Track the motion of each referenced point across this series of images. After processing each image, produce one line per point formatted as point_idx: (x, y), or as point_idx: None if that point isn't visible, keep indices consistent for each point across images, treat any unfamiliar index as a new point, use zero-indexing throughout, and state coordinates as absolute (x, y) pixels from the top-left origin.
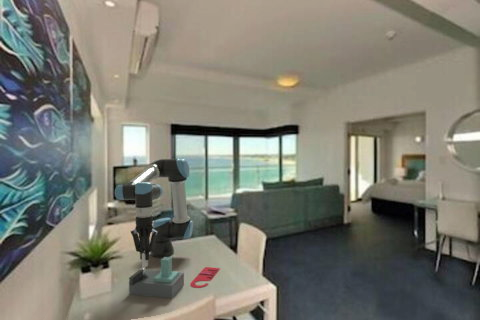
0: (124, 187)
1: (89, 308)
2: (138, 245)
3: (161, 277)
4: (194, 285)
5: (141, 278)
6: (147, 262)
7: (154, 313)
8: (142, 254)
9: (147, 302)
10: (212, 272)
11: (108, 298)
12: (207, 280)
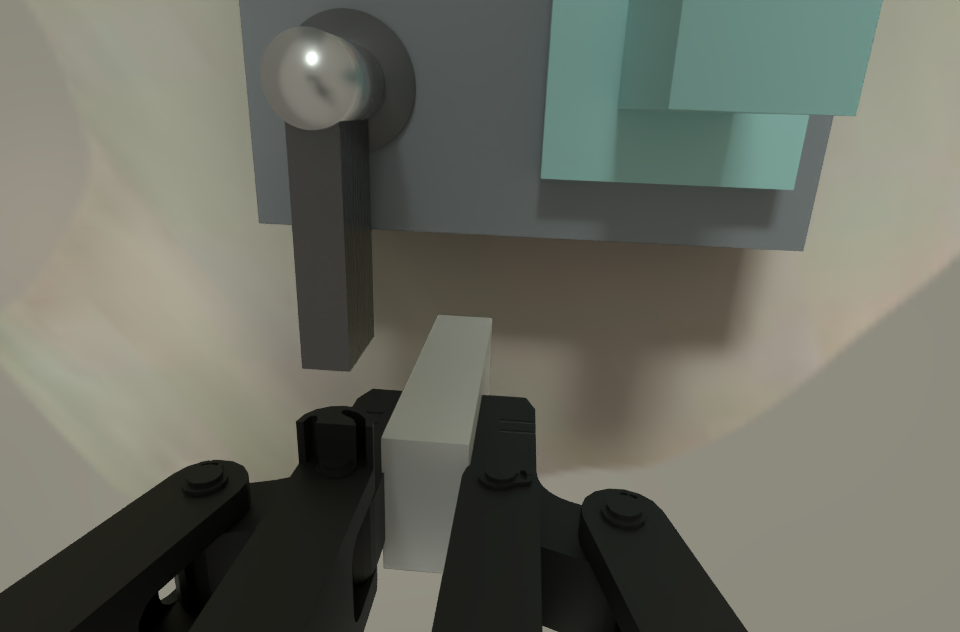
0: None
1: (163, 431)
2: (109, 585)
3: (638, 147)
4: None
5: (368, 161)
6: (487, 349)
7: (669, 447)
8: (409, 554)
9: (547, 314)
10: None
11: (186, 291)
12: None
